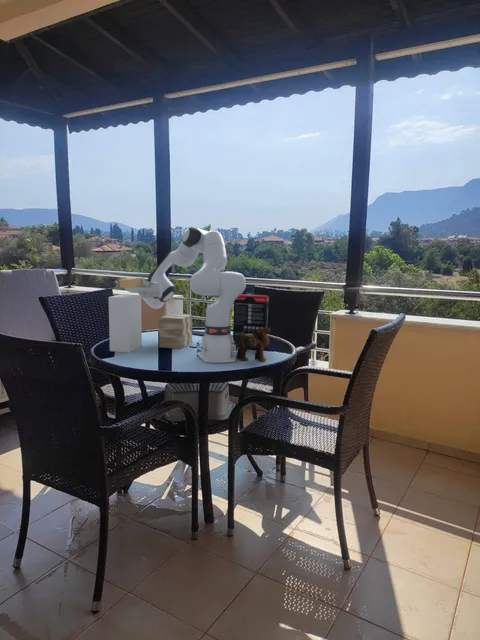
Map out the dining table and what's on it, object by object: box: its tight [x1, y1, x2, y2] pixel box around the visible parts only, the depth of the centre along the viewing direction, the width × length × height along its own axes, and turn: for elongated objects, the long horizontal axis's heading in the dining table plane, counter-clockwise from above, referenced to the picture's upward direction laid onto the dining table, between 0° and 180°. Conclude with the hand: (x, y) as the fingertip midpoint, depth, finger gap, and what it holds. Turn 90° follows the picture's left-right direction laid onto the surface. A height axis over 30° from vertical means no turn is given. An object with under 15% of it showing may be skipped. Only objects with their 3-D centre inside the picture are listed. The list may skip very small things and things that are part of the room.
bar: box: [119, 276, 145, 289], centre depth 219 cm, size 19×4×4 cm, turn 168°
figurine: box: [236, 327, 271, 362], centre depth 197 cm, size 9×15×15 cm, turn 84°
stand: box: [108, 293, 143, 353], centre depth 213 cm, size 14×10×26 cm
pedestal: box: [158, 313, 193, 350], centre depth 226 cm, size 16×12×15 cm
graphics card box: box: [232, 293, 270, 351], centre depth 221 cm, size 17×7×27 cm, turn 76°
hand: (137, 280), depth 224 cm, fingers closed on bar, 4 cm apart
